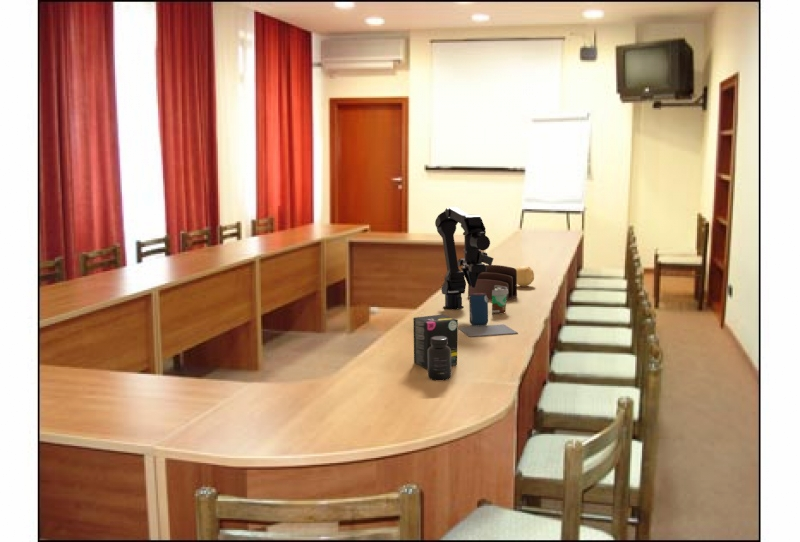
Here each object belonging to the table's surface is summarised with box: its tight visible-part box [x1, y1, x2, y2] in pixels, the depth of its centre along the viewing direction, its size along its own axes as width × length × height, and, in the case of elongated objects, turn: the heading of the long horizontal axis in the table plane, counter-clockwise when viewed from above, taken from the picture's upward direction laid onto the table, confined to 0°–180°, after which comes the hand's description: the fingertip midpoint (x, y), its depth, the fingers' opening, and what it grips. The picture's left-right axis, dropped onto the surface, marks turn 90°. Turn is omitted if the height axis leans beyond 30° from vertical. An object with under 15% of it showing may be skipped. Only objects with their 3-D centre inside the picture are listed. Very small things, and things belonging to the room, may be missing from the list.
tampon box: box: [412, 314, 459, 371], centre depth 236 cm, size 11×9×15 cm
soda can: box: [468, 292, 489, 327], centre depth 288 cm, size 7×7×12 cm
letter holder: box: [467, 264, 518, 302], centre depth 343 cm, size 10×20×14 cm, turn 58°
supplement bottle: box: [427, 336, 452, 381], centre depth 222 cm, size 7×7×12 cm
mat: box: [458, 323, 519, 338], centre depth 279 cm, size 14×18×1 cm
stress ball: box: [515, 265, 535, 288], centre depth 368 cm, size 10×10×10 cm
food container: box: [491, 285, 508, 315], centre depth 311 cm, size 12×6×10 cm, turn 168°
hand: (471, 286), depth 303 cm, fingers open, 4 cm apart
